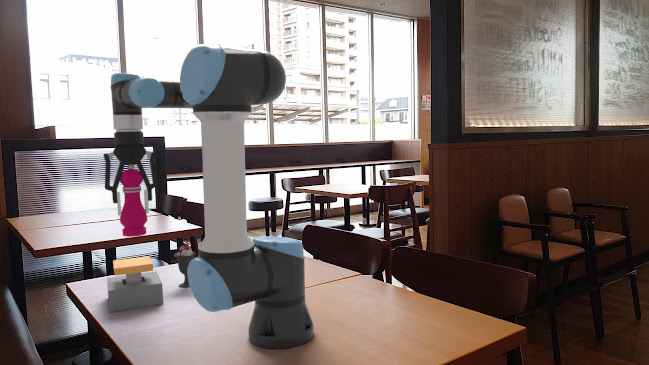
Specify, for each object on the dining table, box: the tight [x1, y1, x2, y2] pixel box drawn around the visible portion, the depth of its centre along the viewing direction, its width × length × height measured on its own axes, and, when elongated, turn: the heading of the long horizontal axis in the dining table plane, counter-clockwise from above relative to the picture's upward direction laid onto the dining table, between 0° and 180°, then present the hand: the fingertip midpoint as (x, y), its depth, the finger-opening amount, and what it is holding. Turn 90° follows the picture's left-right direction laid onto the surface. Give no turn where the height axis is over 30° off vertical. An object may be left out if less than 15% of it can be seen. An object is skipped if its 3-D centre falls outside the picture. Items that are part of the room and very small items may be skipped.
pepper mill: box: [119, 164, 148, 238], centre depth 141 cm, size 7×7×20 cm
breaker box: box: [106, 271, 164, 313], centre depth 146 cm, size 14×14×6 cm
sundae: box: [173, 238, 197, 288], centre depth 159 cm, size 7×7×15 cm
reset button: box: [112, 255, 154, 284], centre depth 145 cm, size 10×10×7 cm
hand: (133, 213), depth 142 cm, fingers closed on pepper mill, 6 cm apart
